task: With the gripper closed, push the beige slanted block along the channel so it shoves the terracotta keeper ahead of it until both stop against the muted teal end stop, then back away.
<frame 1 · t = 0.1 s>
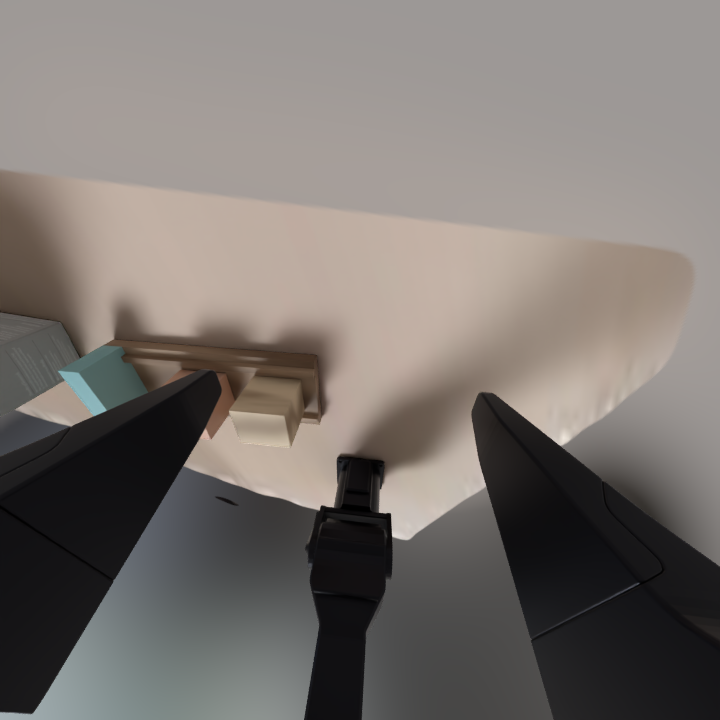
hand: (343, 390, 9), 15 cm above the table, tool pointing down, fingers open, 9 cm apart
terracotta keeper: (195, 403, 26), point 4 cm above the table, slide at 0.0 cm
beige slanted block: (271, 410, 26), point 4 cm above the table, slide at 0.0 cm
teal end stop: (141, 373, 30), resting on channel
channel: (224, 380, 29), on the table
skincare box: (42, 336, 28), on the table
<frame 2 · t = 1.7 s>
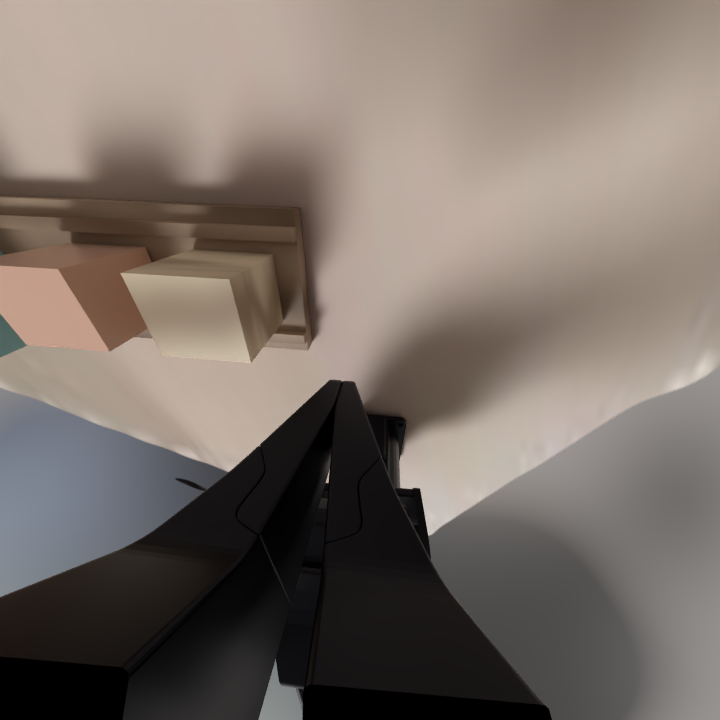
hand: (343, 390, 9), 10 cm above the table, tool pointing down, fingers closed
terracotta keeper: (88, 293, 15), point 4 cm above the table, slide at 0.0 cm
beige slanted block: (219, 302, 14), point 4 cm above the table, slide at 0.0 cm
teal end stop: (24, 267, 19), resting on channel
channel: (153, 275, 18), on the table
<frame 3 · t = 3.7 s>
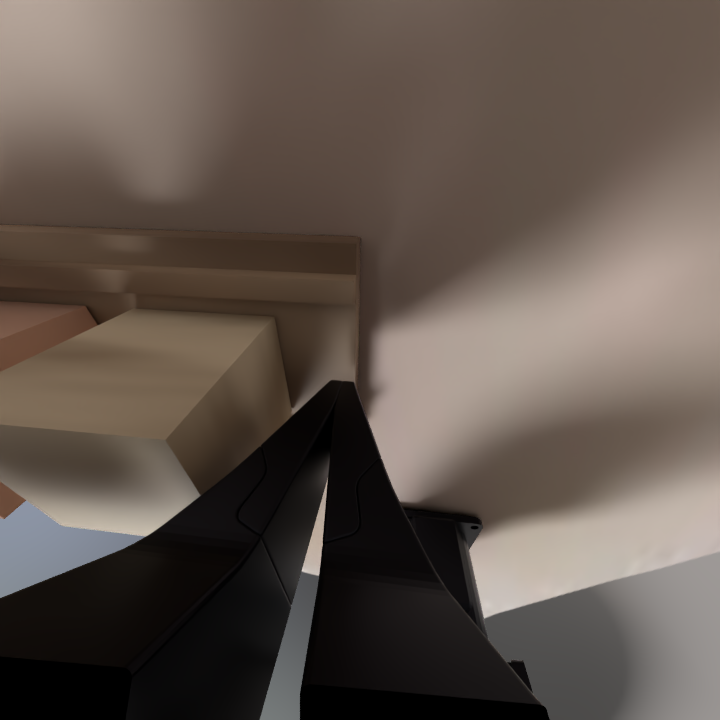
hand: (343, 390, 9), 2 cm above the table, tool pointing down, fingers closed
beige slanted block: (177, 412, 8), point 4 cm above the table, slide at 1.2 cm, touching gripper
channel: (112, 339, 11), on the table
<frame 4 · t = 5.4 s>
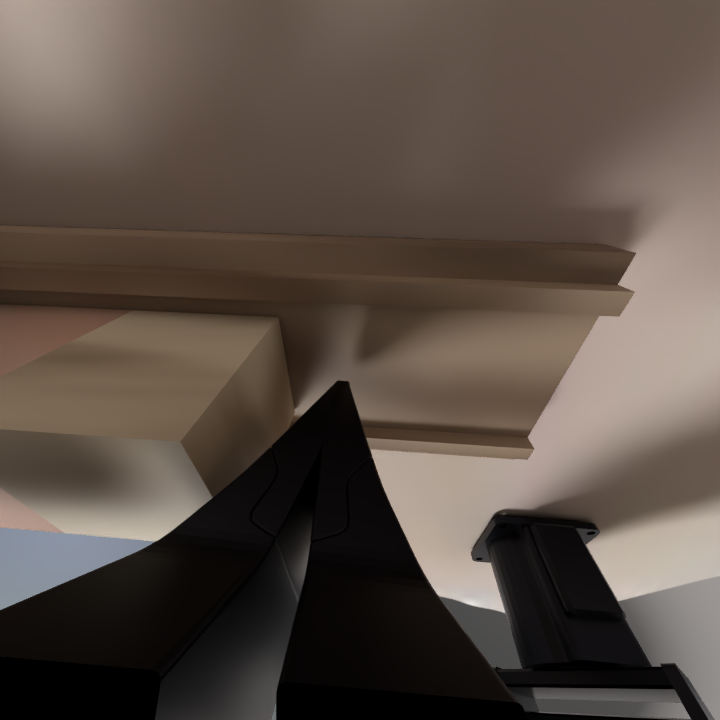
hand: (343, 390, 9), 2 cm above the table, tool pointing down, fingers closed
terracotta keeper: (26, 404, 8), point 4 cm above the table, slide at 5.5 cm, touching beige slanted block, teal end stop
beige slanted block: (181, 415, 8), point 4 cm above the table, slide at 8.5 cm, touching gripper, terracotta keeper
channel: (273, 351, 11), on the table
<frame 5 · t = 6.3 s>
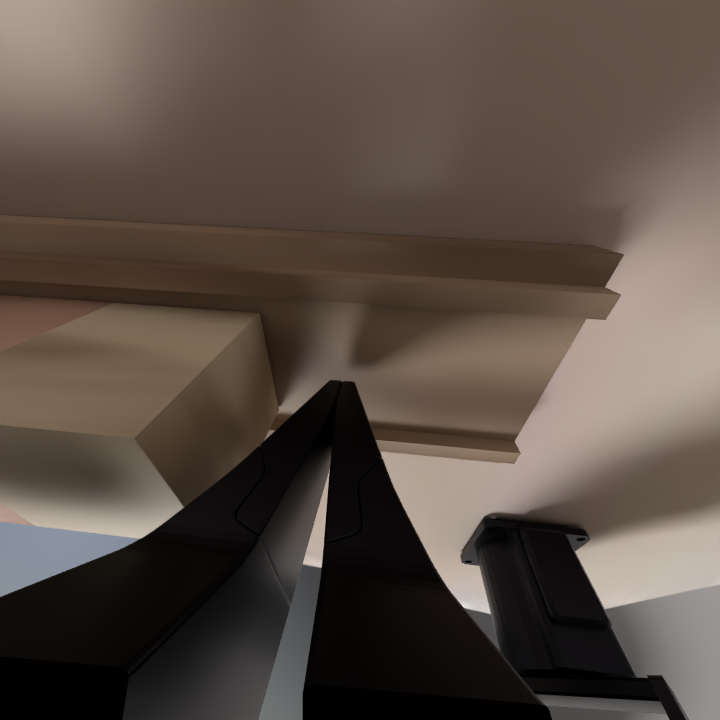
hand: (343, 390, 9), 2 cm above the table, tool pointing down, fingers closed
terracotta keeper: (3, 395, 8), point 4 cm above the table, slide at 5.5 cm, touching teal end stop
beige slanted block: (157, 409, 8), point 4 cm above the table, slide at 8.5 cm
channel: (258, 347, 11), on the table
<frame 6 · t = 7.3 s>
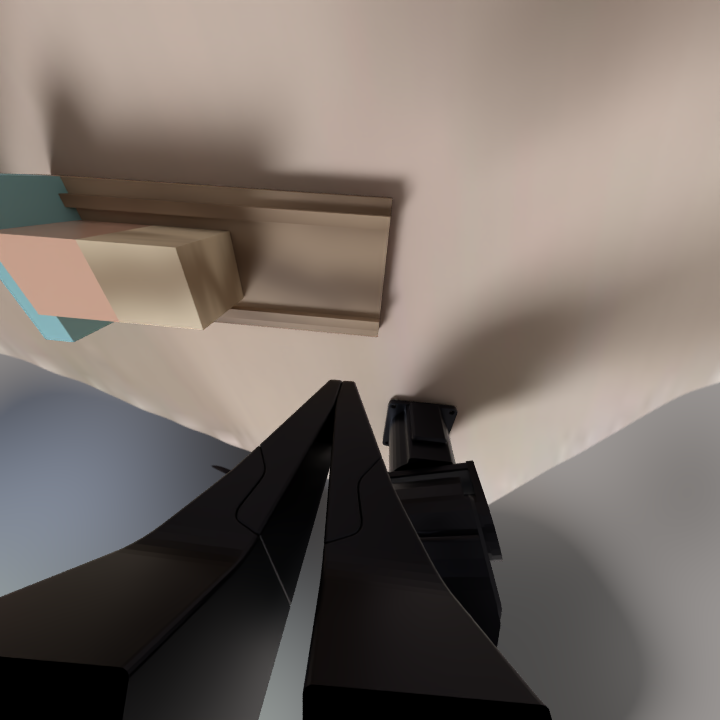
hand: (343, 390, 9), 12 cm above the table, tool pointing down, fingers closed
terracotta keeper: (98, 268, 16), point 4 cm above the table, slide at 5.5 cm, touching teal end stop
beige slanted block: (177, 274, 15), point 4 cm above the table, slide at 8.5 cm
teal end stop: (101, 250, 19), resting on channel
channel: (232, 260, 18), on the table
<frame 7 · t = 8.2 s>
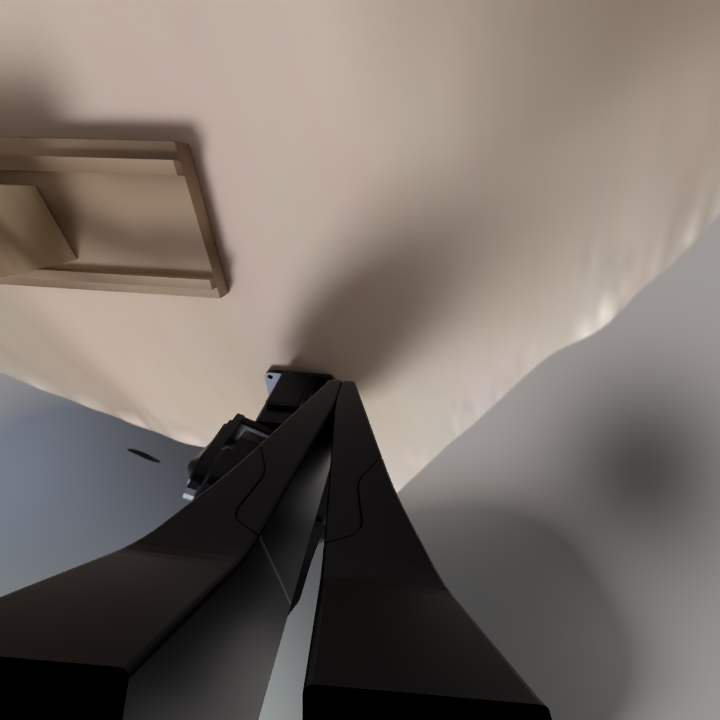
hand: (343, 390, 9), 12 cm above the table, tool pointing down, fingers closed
channel: (64, 222, 18), on the table
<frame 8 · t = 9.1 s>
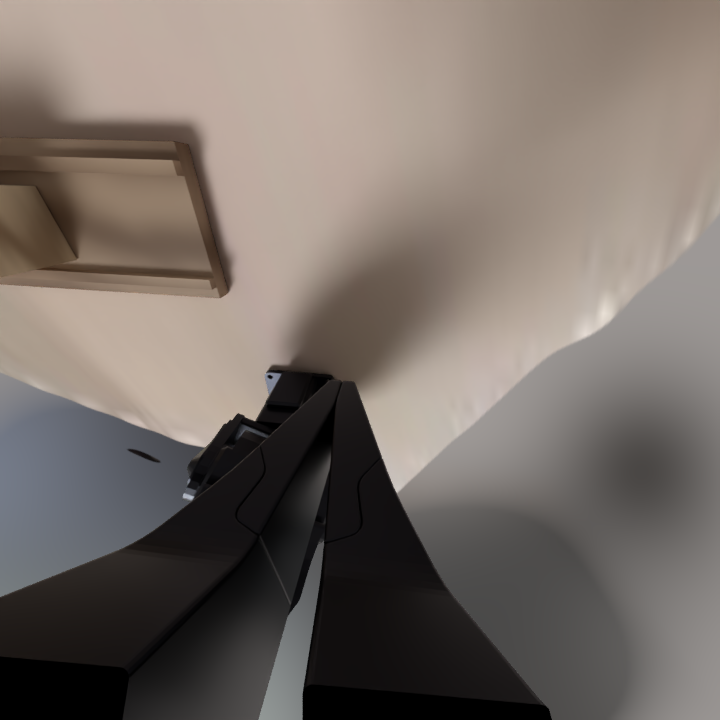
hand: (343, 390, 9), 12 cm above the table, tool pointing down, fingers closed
channel: (64, 222, 18), on the table
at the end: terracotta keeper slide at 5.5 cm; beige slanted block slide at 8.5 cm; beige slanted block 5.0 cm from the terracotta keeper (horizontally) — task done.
